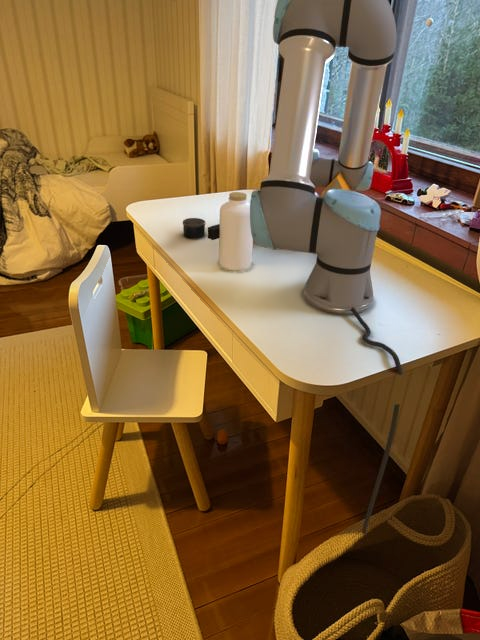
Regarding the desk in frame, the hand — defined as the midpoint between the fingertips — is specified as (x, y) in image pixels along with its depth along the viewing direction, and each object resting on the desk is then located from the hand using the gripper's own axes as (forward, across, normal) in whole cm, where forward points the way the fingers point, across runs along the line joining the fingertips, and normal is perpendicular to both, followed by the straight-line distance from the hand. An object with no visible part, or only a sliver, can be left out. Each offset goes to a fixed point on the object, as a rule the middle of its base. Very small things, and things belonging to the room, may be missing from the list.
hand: (210, 233), depth 115 cm
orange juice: (-33, -12, -1) cm, 35 cm away
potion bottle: (-5, -4, -9) cm, 11 cm away
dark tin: (-10, +18, -8) cm, 22 cm away
